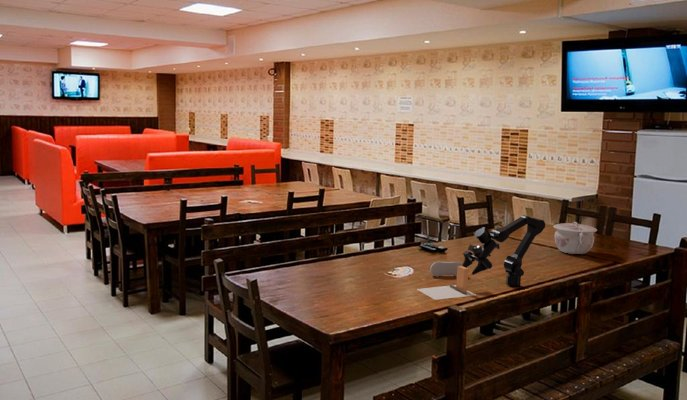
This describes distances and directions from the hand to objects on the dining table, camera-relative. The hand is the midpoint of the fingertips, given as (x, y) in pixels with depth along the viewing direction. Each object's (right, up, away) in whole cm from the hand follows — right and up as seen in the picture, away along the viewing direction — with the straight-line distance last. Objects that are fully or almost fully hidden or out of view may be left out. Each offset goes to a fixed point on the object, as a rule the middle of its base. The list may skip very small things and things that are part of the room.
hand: (466, 271), depth 308 cm
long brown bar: (-5, -10, 0) cm, 11 cm away
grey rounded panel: (-5, -6, +27) cm, 29 cm away
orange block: (-3, -9, 0) cm, 10 cm away
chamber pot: (+89, +2, +93) cm, 129 cm away
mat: (-11, -10, -3) cm, 15 cm away
